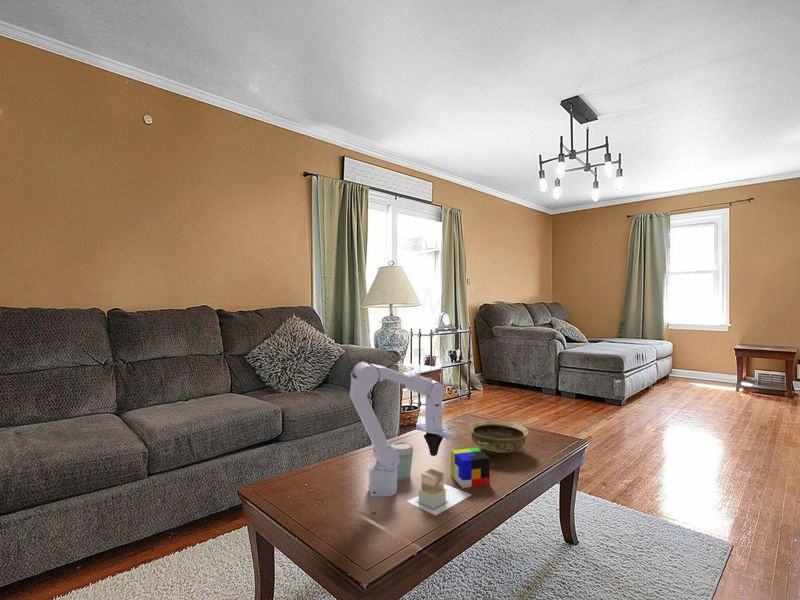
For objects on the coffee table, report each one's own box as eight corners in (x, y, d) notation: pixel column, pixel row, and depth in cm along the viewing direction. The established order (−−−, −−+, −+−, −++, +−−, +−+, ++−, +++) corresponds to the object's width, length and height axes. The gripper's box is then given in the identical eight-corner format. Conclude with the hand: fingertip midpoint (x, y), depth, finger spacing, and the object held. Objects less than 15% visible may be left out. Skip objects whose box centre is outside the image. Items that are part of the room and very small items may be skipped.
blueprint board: (435, 518, 126) (435, 515, 126) (406, 503, 134) (406, 501, 134) (471, 497, 138) (471, 494, 138) (442, 485, 147) (442, 482, 147)
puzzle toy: (462, 490, 143) (462, 460, 143) (451, 478, 153) (451, 450, 153) (489, 486, 146) (489, 457, 146) (476, 474, 156) (476, 447, 156)
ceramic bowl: (508, 471, 158) (508, 444, 158) (453, 455, 174) (453, 431, 174) (540, 449, 181) (540, 425, 181) (490, 436, 197) (490, 415, 197)
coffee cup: (416, 475, 155) (416, 442, 155) (410, 485, 147) (410, 450, 147) (393, 472, 158) (393, 440, 157) (386, 482, 149) (386, 448, 149)
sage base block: (433, 508, 129) (433, 495, 129) (418, 502, 134) (418, 489, 134) (445, 501, 134) (445, 489, 134) (431, 495, 138) (431, 483, 138)
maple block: (433, 494, 130) (433, 478, 130) (421, 489, 134) (421, 473, 134) (443, 488, 134) (443, 473, 134) (431, 484, 137) (431, 468, 137)
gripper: (457, 417, 145) (457, 457, 145) (425, 409, 155) (425, 446, 155) (444, 422, 140) (444, 463, 140) (412, 413, 150) (412, 451, 150)
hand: (433, 455), depth 147 cm, fingers closed
